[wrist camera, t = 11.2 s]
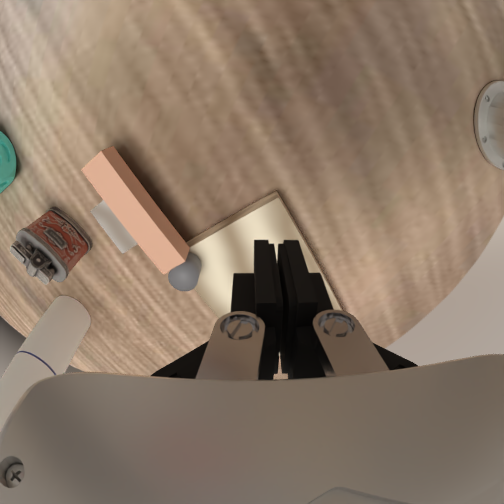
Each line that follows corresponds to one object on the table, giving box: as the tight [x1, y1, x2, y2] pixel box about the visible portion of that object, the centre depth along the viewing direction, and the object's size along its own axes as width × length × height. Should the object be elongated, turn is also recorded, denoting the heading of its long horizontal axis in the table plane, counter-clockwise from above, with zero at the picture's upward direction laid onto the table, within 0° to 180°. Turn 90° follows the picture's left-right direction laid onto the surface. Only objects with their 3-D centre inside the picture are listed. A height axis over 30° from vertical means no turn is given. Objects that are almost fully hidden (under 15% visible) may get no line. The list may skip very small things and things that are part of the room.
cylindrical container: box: [0, 296, 91, 432], centre depth 31 cm, size 7×7×25 cm
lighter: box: [10, 207, 92, 284], centre depth 31 cm, size 8×3×10 cm, turn 44°
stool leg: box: [81, 146, 202, 291], centre depth 31 cm, size 17×3×3 cm, turn 32°
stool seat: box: [90, 191, 343, 355], centre depth 36 cm, size 17×30×4 cm, turn 31°
